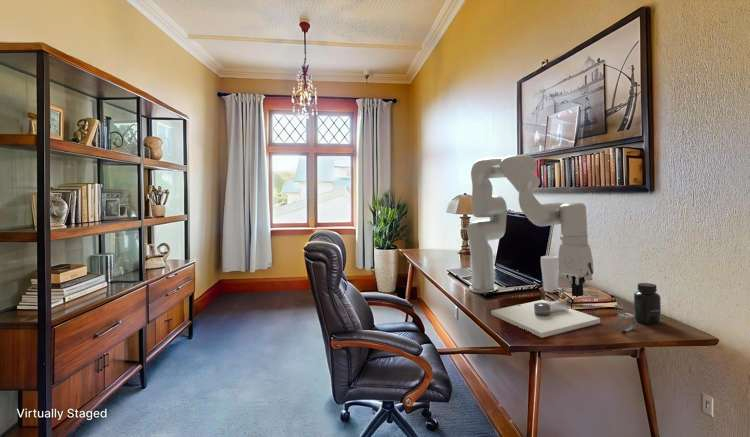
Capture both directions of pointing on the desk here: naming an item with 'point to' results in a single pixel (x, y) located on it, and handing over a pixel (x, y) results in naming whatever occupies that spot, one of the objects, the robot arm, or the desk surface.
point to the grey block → (550, 307)
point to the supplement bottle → (647, 304)
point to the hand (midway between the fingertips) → (577, 295)
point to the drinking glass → (550, 272)
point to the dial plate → (544, 319)
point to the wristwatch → (626, 316)
